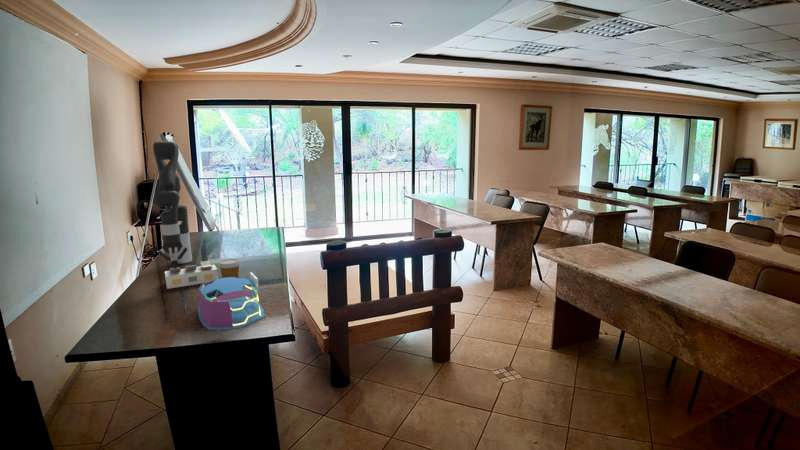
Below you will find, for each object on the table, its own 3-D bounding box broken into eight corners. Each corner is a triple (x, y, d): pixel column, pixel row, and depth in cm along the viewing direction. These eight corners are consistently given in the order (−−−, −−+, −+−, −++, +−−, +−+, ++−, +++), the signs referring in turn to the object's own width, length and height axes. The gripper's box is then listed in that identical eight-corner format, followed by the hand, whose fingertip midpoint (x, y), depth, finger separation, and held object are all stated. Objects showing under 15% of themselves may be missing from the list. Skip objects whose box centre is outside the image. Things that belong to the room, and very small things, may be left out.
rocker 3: (200, 263, 223) (200, 261, 222) (209, 262, 225) (209, 260, 224) (202, 270, 216) (202, 267, 216) (212, 268, 218) (211, 266, 218)
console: (166, 282, 217) (164, 269, 216) (215, 275, 228) (214, 262, 227) (167, 289, 208) (165, 275, 207) (218, 280, 220) (217, 267, 218)
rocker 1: (169, 270, 216) (169, 268, 216) (179, 269, 218) (179, 266, 218) (170, 271, 209) (169, 269, 209) (180, 270, 211) (180, 267, 211)
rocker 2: (185, 268, 219) (185, 266, 219) (195, 267, 221) (194, 264, 221) (186, 269, 212) (186, 266, 212) (196, 268, 214) (196, 265, 214)
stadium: (193, 305, 189) (189, 273, 186) (250, 294, 201) (247, 264, 198) (206, 336, 160) (202, 299, 157) (272, 321, 172) (269, 286, 169)
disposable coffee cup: (245, 282, 216) (243, 259, 214) (232, 289, 208) (230, 265, 205) (229, 280, 219) (227, 257, 217) (216, 287, 211) (214, 263, 208)
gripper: (185, 229, 214) (189, 263, 217) (155, 233, 207) (159, 268, 211) (187, 232, 207) (190, 267, 211) (155, 236, 201) (159, 272, 204)
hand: (175, 267), depth 211 cm, fingers closed
